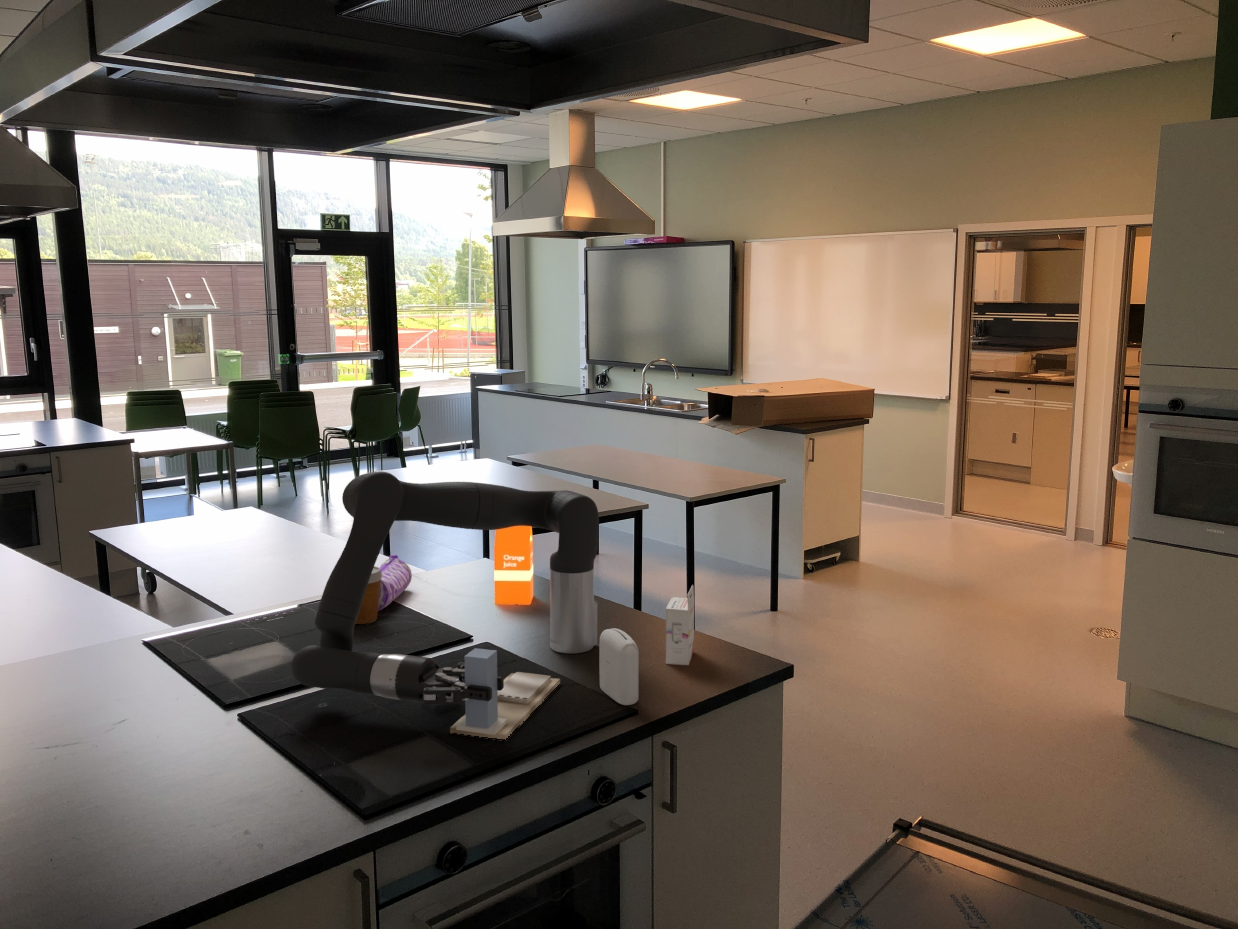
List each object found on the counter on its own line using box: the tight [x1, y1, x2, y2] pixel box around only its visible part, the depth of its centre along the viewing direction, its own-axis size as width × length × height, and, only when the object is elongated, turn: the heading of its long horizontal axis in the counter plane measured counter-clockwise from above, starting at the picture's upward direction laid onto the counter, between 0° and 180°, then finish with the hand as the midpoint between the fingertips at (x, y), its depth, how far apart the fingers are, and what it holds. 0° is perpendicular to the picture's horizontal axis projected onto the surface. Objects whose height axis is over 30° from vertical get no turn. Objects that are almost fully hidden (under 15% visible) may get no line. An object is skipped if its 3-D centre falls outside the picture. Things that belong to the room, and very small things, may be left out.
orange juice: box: [493, 526, 534, 606], centre depth 231 cm, size 8×9×20 cm
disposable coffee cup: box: [356, 565, 383, 625], centre depth 214 cm, size 10×10×12 cm
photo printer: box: [598, 628, 639, 706], centre depth 171 cm, size 10×4×12 cm, turn 26°
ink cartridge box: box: [665, 584, 695, 666], centre depth 191 cm, size 9×5×15 cm, turn 168°
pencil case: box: [378, 554, 413, 612], centre depth 231 cm, size 22×9×10 cm, turn 179°
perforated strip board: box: [449, 671, 561, 741], centre depth 167 cm, size 26×10×2 cm, turn 163°
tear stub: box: [456, 647, 507, 735], centre depth 155 cm, size 5×7×13 cm
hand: (496, 689), depth 154 cm, fingers closed on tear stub, 4 cm apart
